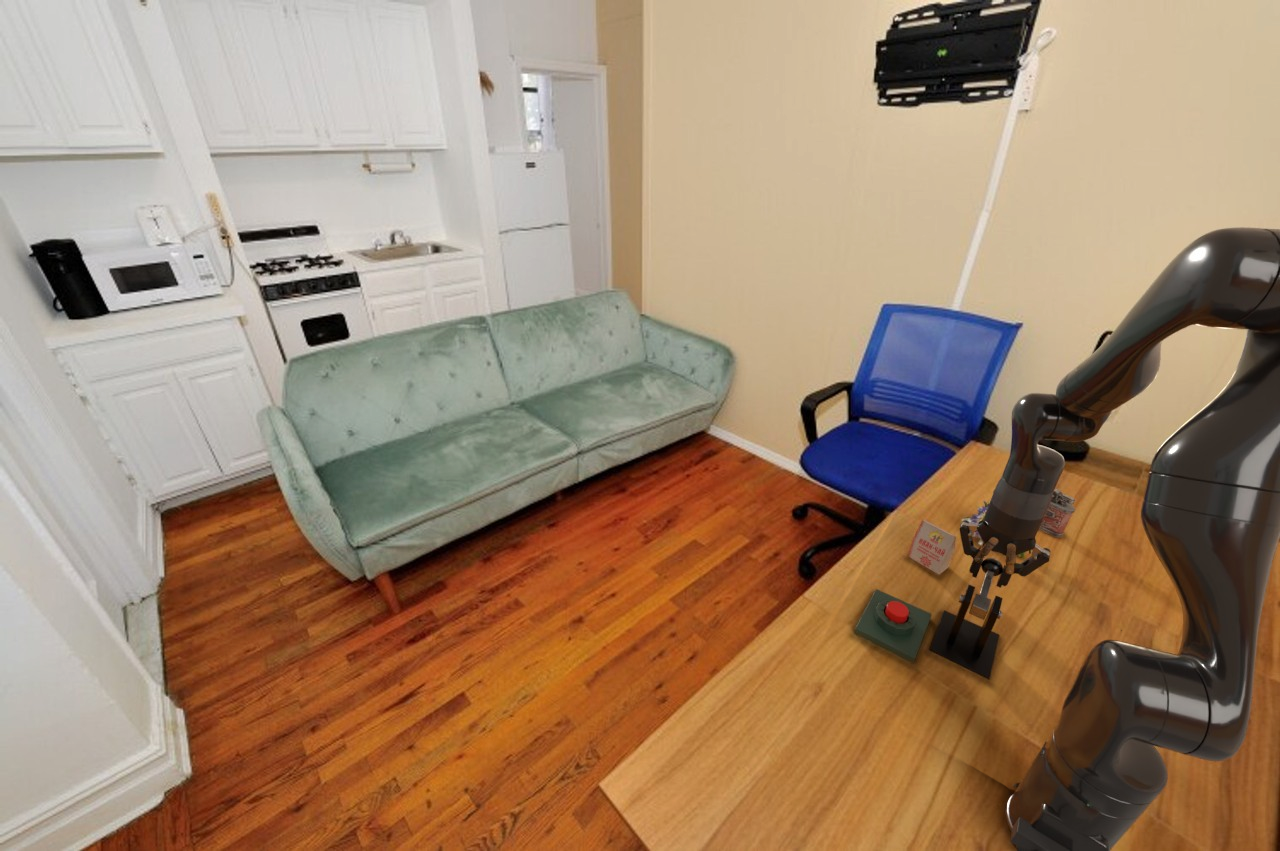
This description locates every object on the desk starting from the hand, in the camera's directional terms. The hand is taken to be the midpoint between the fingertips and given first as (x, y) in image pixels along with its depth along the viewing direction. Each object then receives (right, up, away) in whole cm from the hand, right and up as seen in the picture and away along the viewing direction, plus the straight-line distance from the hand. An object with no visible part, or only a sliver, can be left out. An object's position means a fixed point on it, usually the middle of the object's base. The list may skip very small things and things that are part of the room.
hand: (987, 579), depth 92 cm
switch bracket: (-6, -11, -3) cm, 13 cm away
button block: (-17, -9, +1) cm, 20 cm away
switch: (-3, -1, -4) cm, 5 cm away
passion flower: (+16, +2, +21) cm, 26 cm away
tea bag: (-2, -2, +15) cm, 15 cm away
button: (-17, -6, -1) cm, 18 cm away
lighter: (+30, +5, +25) cm, 40 cm away
